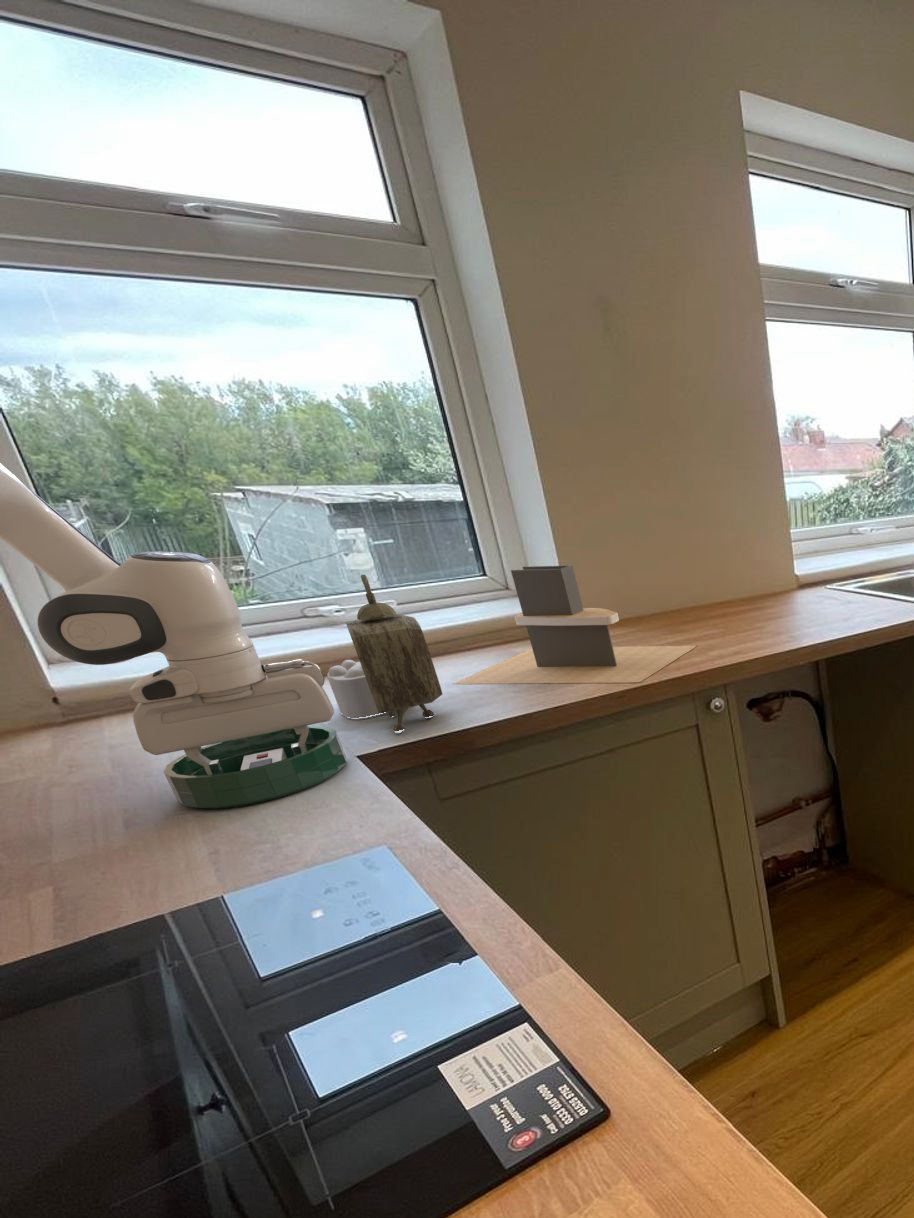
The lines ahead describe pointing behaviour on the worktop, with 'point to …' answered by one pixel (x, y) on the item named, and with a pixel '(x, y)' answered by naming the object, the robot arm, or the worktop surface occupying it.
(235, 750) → the bowl
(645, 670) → the architectural model
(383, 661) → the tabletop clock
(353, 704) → the lumpy-topped squat cylinder
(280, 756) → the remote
